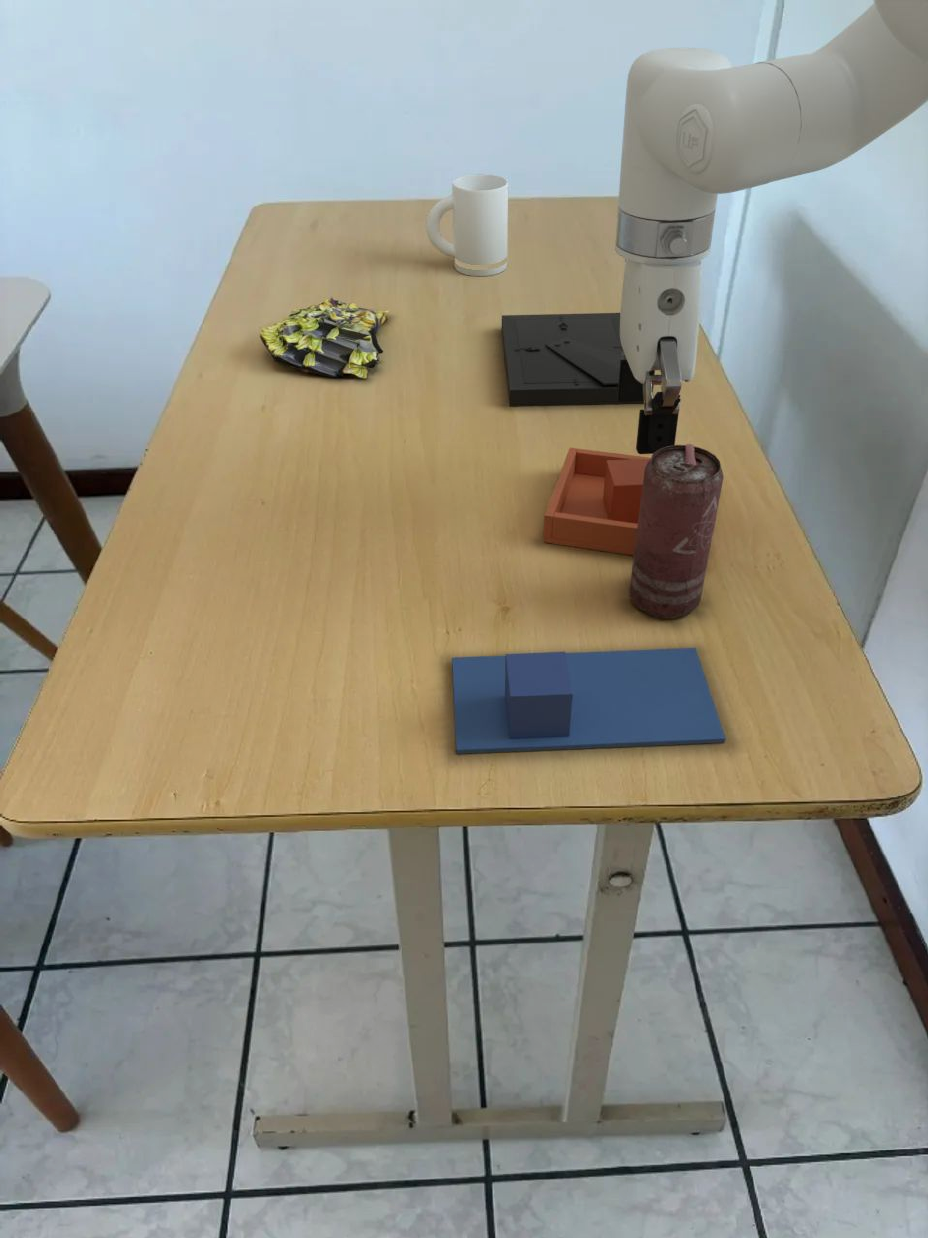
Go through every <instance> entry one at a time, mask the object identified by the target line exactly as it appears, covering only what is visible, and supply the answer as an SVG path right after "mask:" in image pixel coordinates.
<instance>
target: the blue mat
mask: <svg viewBox="0 0 928 1238" xmlns="http://www.w3.org/2000/svg"><path fill="white" fill-rule="evenodd" d="M565 653H566V658H567V664H568V670H569V675H570V681H571V686H572V692H573V699H572V711H571V723H570V735H569V736H564V737H540V738H516V739H510V738H509V731H508V722H507V712H506V702H505V657H506V654H505V655H483V656H482V655H481V656H479V655H478V656H457V657H456V656H455V657H452V658H451V664H452V665H451V666H452V667H451V668H452V669H451V670H452V686H453V687H452V688H453V689H452V690H453V708H454V709H453V710H454V731H455V732H454V733H455V749H456V750H455V751H456V754H457V755H462V754H463V755H464V754H487V753H489V754H490V753H509V752H510V753H513V752H514V753H515V752H536V751H537V752H538V751H555V750H556V751H558V750H559V751H561V750H578V749H579V750H582V749H583V750H585V749H605V748H607V749H608V748H629V747H655V746H676V745H677V746H678V745H700V744H723V743H726V740H727V739H726V736H725V732H724V730H723V729H724V728H723V727H722V723H721V721H720V717H719V714H718V711H717V708H716V705H715V702H714V699H713V696H712V694H711V690H710V687H709V685H708V681H707V679H706V674H705V673H704V670H703V669H704V668H703V666H702V663H701V661H700V658H699V655H698V652H697V648H696V647H682V648H681V647H680V648H658V649H655V648H654V649H633V650H632V649H631V650H607V651H605V650H604V651H583V652H581V651H580V652H565Z"/></svg>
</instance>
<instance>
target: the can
mask: <svg viewBox="0 0 928 1238" xmlns="http://www.w3.org/2000/svg"><path fill="white" fill-rule="evenodd" d="M650 458H651V459H650V460H649V461H648V463H647V465H646V467H645V471H644V479H643V487H642V495H641V503H640V511H639V519H638V527H637V535H636V543H635V550H634V556H633V557H632V559H633V560H632V567H631V576H630V582H629V583H630V584H629V597H630V599H631V600H632V602H633V604H634V605H635V607H636V608H637V609H638V610H640V611H641V612H642V613H644V614H646V615H648V616H650V617H651V618H656V619H660V620H677V619H681V618H684V617H686V616H687V615H690V614H691V613H692V612H693V611H694V610H696V608H697V607H699V605H700V602H701V599H702V593H703V589H704V583H705V579H706V578H705V577H706V573H707V568H708V562H709V556H710V551H711V545H712V541H713V536H714V531H715V525H716V520H717V514H718V509H719V503H720V498H721V495H722V490H723V489H722V488H723V484H724V472H723V468H722V464H721V461H720V459H719V458H718V457H717V456H716V455H715V454H714V453H712V452H711V451H709V450H707V449H704V448H701V447H699V446H695V445H694V444H692V443H687V444H675V445H673V446H667V447H664V448H661V449H659V450H657V451H656V452H655V453H653V454H651V457H650Z"/></svg>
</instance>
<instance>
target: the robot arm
mask: <svg viewBox="0 0 928 1238" xmlns="http://www.w3.org/2000/svg"><path fill="white" fill-rule="evenodd" d="M872 1H873V3H872V4H871V5H870V6H868V7H867V9H866V10H865V11H864V12H863V13H862V14H861V15H859V16H858V17H857V18H856V19H855V20H853V22H851V23H850V24H849V25H848V26H846V27H845V28H844V29H843V30H842V31H841V32H839V33H838V34H837V35H836V36H835V37H833V38H832V39H831V40H829V42H827V43H826V44H824V45H822V46H821V47H820V48H818V49H817V50H815V51H813V52H811V53H805V54H798V55H792V56H791V55H790V56H787V57H786V56H785V57H781V58H775V59H774V58H773V59H769V60H763V61H758V62H755V63H752V64H751V63H750V64H745V65H739V66H738V65H737V66H732V64H731V62H730V60H729V58H727V57H726V55H724V54H722V53H720V52H718V51H715V50H712V49H708V48H707V49H706V48H696V47H666V48H658V49H653V50H650V51H647V52H644V53H642V54H641V55H639V56H638V57H637V58H635V59H634V61H633V62H632V64H631V66H630V69H629V71H628V74H627V78H626V79H627V80H626V89H625V103H624V118H623V129H622V130H623V131H622V144H621V159H620V170H619V171H620V173H619V187H618V200H617V215H616V230H615V242H614V250H615V252H616V254H617V255H619V256H620V257H622V258H623V259H624V271H623V279H622V289H621V298H620V299H621V301H620V312H619V313H620V340H621V345H622V358H623V359H624V358H626V359H627V360H620V371H619V383H618V395H617V396H618V400H619V401H620V402H634V401H644V403H643V409H639V414H638V423H637V434H636V444H635V446H636V447H635V449H636V452H637V454H638V455H653V453H655V452H656V451H657V450H659V449H661V448H664V447H667V446H673V445H676V436H677V429H678V422H679V414H680V413H679V412H680V408H681V407H680V403H681V401H682V399H681V395H680V392H681V390H682V385H683V381H684V382H685V383H690V382H691V381H692V380H693V379H694V377H695V372H696V365H697V364H696V363H697V355H698V353H697V352H698V344H699V343H698V341H699V329H700V317H701V305H702V301H701V300H702V260H704V259H705V258H707V257H708V256H709V255H710V253H711V246H712V239H713V232H714V226H715V225H714V224H715V217H716V211H717V210H716V209H717V202H718V195H721V194H724V195H725V194H730V193H737V192H740V191H744V190H748V189H751V188H755V187H759V186H764V185H767V184H769V183H773V182H776V181H781V180H785V179H789V178H794V177H799V176H801V175H807V174H810V173H814V172H818V171H821V170H824V169H827V168H830V167H833V166H834V165H836V164H838V163H841V162H842V161H844V160H847V159H848V158H850V157H851V156H853V155H854V154H856V153H857V152H859V151H860V150H862V149H863V148H865V147H867V146H868V145H869V144H871V143H872V142H874V141H875V140H877V139H878V138H879V137H881V136H883V135H884V134H886V133H887V132H889V130H891V129H893V128H894V127H896V126H897V125H898V124H900V123H901V122H903V121H904V120H906V119H907V118H909V117H910V116H911V115H912V114H913V113H915V112H916V111H917V110H918V109H920V108H921V107H922V106H923V105H925V104H926V103H927V102H928V0H872ZM656 371H660V374H656ZM654 386H660V391H657V392H656V393H655V395H654V396H653V394H654V393H653V392H654Z"/></svg>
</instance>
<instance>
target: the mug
mask: <svg viewBox="0 0 928 1238" xmlns="http://www.w3.org/2000/svg"><path fill="white" fill-rule="evenodd" d="M451 184H452V185H451V191H452V192H451V193H452V194H451V195H448V196H446V197H442V198H441V199H440V200H439V201H437V202H436V203H435V204H434V205H433V207H432V208H431V210H430V211H429V213H428V215H427V219H426V226H425V227H426V235H427V237H428V240H429V242H430V243H431V245H432V246H433V247H434V248H435V249H436V250H437V251H438V252H439V253H440V254H443V255H445V256H447V257H451V258H454V257H455V258H456V259H457V260H458V261H460V262H462V263H466V264H470V265H490V264H495V263H498V262H501V261H502V260H504V259H505V258H506V257H507V258H508V240H509V239H508V238H509V237H508V236H509V235H508V233H509V232H508V230H509V229H508V228H509V227H508V226H509V225H508V223H509V182H508V180H507V179H506V178H505V177H503V176H499V175H495V174H487V173H476V174H467V175H463V176H460V177H457V178H455V179H454V180H453V182H452V183H451ZM450 210H452V232H453V243H451V242H449V241H447V240H446V239H445V238H444V237H443V235H442V233H441V231H440V223H441V219H442V218H443V216H444V215H445V214H446V213H447V212H449V211H450ZM453 266H454V268H455V270H456V272H458V273H460V274H463V275H464V276H465V275H466V276H470V277H471V276H472V277H489V276H494V275H499V274H500V273H503V272H504V271H505V270H506V269H507V267H508V261H507V262H506V263H505V264H504V265H502V266H500V267H498V268H494V269H487V270H472V269H466V268H463V267H460V266H458V265H457V264H456V263H455V262H454V261H453Z"/></svg>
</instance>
